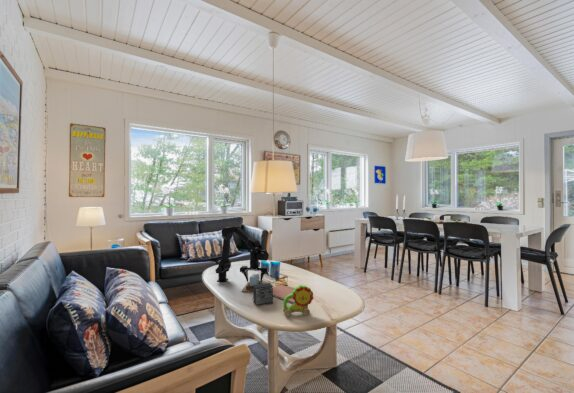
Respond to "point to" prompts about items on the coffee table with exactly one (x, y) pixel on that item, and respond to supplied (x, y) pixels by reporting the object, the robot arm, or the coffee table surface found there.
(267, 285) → the small box
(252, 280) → the key block
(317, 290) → the coffee table surface
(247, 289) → the keyed nest
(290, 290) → the notebook
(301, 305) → the toy lion
